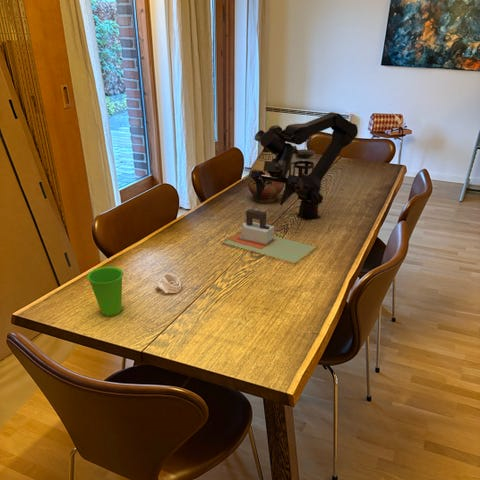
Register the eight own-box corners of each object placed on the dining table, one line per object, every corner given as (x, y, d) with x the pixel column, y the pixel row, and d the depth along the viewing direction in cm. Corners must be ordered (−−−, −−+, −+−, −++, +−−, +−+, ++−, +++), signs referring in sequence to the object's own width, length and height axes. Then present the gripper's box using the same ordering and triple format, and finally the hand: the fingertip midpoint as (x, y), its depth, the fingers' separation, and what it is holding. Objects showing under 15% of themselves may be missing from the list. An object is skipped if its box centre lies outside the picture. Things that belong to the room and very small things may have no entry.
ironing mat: (223, 243, 163) (223, 241, 163) (247, 230, 174) (247, 228, 173) (294, 264, 150) (294, 262, 150) (316, 248, 160) (316, 246, 160)
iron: (273, 239, 165) (275, 211, 159) (265, 246, 160) (266, 217, 155) (246, 233, 169) (246, 206, 164) (237, 239, 165) (237, 211, 159)
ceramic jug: (258, 207, 194) (260, 130, 178) (241, 197, 205) (241, 123, 189) (293, 201, 201) (298, 126, 184) (274, 191, 212) (277, 120, 196)
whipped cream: (168, 283, 141) (166, 268, 139) (187, 286, 138) (185, 270, 136) (152, 293, 134) (150, 277, 132) (172, 297, 132) (170, 280, 129)
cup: (97, 303, 129) (90, 267, 123) (130, 301, 130) (125, 265, 124) (91, 321, 122) (83, 283, 116) (126, 319, 122) (121, 282, 116)
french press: (316, 188, 216) (321, 135, 203) (310, 194, 208) (314, 140, 196) (292, 185, 220) (295, 133, 207) (285, 191, 212) (288, 137, 200)
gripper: (250, 146, 162) (236, 189, 162) (299, 152, 154) (285, 198, 154) (262, 161, 172) (249, 201, 172) (309, 167, 164) (296, 210, 164)
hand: (269, 202), depth 165 cm, fingers open, 9 cm apart
